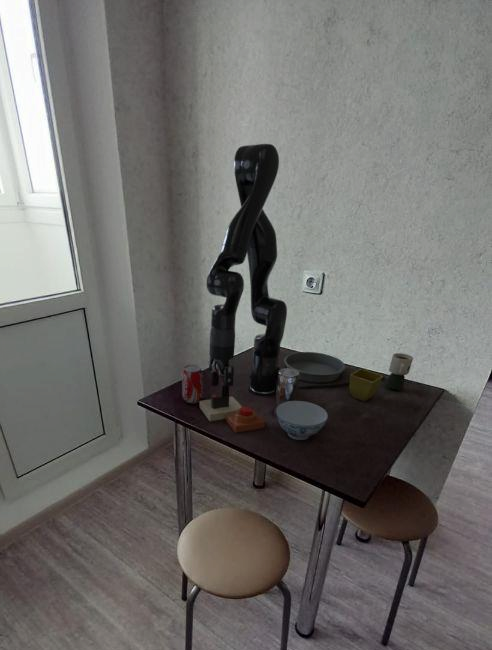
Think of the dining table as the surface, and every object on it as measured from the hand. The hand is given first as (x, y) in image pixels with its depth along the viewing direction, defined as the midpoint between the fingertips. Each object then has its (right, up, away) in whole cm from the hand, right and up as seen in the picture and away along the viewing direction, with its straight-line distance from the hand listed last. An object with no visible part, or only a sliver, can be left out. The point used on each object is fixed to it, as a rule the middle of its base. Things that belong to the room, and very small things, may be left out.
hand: (219, 390), depth 128 cm
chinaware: (+24, -14, -5) cm, 28 cm away
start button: (+8, -8, -3) cm, 11 cm away
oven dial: (0, -5, +3) cm, 6 cm away
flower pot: (+52, -1, +19) cm, 55 cm away
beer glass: (+21, -7, +6) cm, 23 cm away
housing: (+8, -11, -1) cm, 13 cm away
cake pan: (+38, +11, +38) cm, 55 cm away
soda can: (-10, -2, +12) cm, 15 cm away
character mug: (+67, +4, +27) cm, 73 cm away
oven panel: (0, -6, +5) cm, 8 cm away
